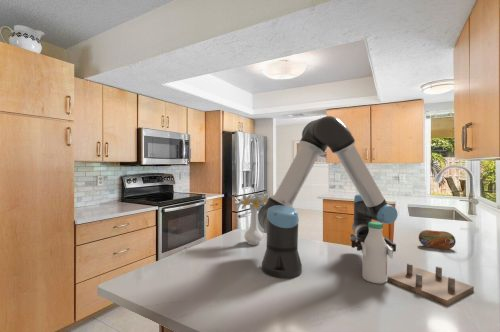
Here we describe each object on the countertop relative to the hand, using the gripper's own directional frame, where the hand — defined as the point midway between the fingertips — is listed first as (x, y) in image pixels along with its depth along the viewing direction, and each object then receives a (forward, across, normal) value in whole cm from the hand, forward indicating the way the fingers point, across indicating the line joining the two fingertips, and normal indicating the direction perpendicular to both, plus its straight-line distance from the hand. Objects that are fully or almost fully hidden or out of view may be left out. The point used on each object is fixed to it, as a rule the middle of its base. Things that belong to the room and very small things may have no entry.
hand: (378, 252), depth 88 cm
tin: (-54, -38, -11) cm, 66 cm away
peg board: (-5, -17, -11) cm, 21 cm away
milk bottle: (-5, 0, -11) cm, 12 cm away
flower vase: (-32, +51, -11) cm, 61 cm away
